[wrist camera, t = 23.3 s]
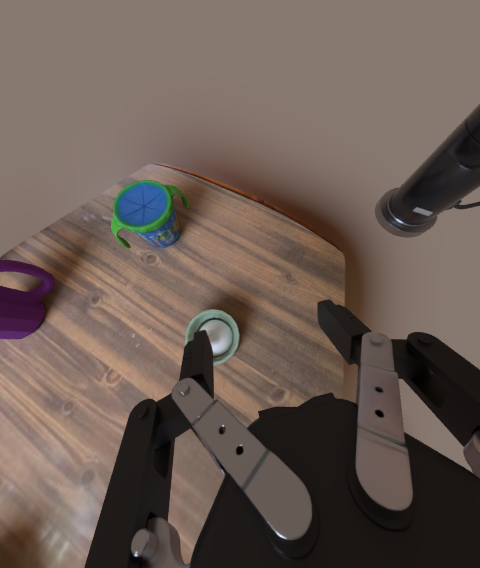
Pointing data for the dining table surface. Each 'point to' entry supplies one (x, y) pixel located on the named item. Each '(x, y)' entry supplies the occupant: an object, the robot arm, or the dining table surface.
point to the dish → (209, 316)
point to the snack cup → (147, 212)
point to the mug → (22, 302)
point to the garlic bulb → (218, 336)
